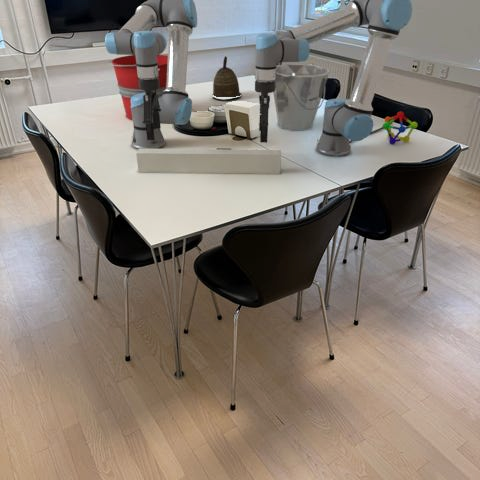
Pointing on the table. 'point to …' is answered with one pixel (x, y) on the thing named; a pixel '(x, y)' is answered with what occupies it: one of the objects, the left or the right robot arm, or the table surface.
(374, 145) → the table surface
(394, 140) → the educational toy
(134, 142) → the left robot arm
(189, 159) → the bar
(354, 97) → the right robot arm
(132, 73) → the bucket
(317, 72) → the bucket
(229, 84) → the bell
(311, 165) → the table surface
